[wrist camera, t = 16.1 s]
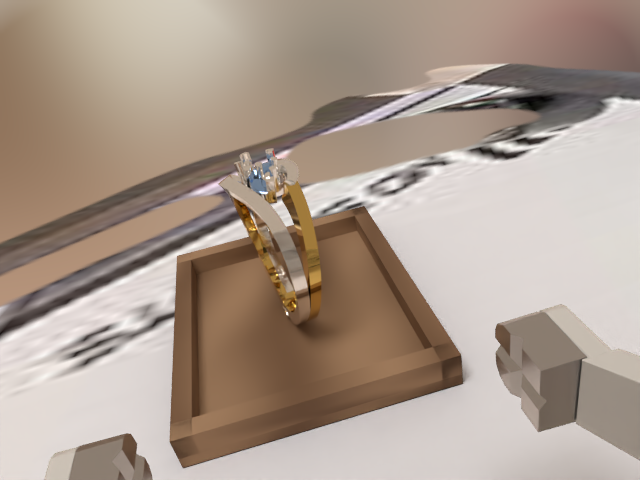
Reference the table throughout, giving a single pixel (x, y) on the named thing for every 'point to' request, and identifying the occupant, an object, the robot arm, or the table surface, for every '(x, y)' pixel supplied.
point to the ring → (279, 231)
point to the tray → (298, 342)
